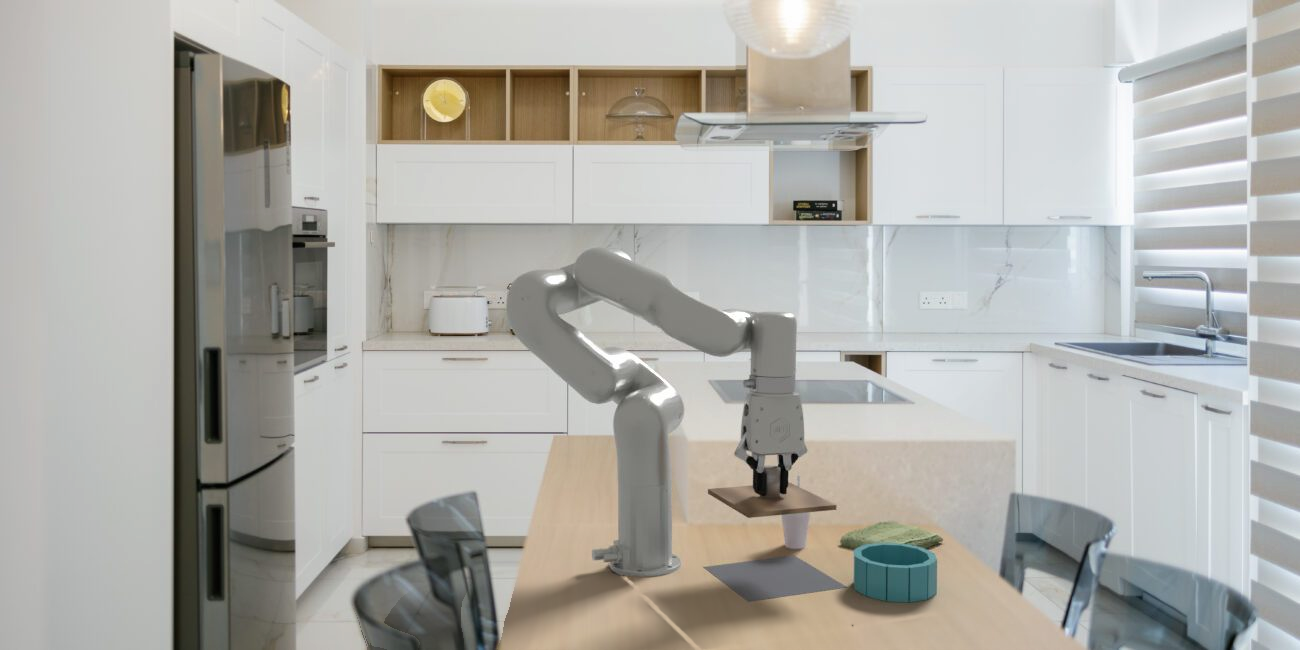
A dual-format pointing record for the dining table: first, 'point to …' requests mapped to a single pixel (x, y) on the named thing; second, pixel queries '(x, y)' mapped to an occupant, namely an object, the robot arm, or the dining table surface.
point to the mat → (773, 578)
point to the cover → (771, 498)
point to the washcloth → (890, 535)
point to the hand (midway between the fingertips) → (770, 492)
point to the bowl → (895, 572)
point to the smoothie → (795, 528)
